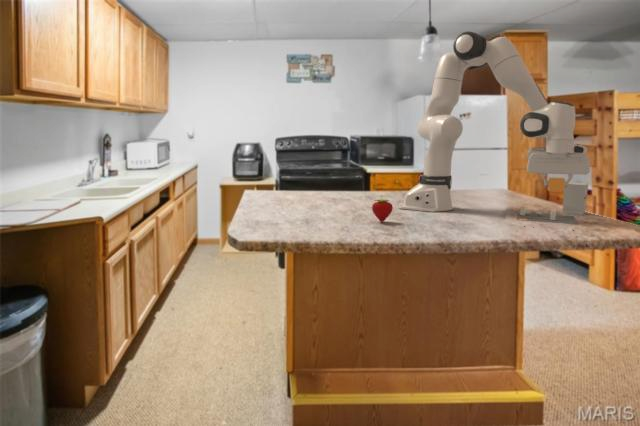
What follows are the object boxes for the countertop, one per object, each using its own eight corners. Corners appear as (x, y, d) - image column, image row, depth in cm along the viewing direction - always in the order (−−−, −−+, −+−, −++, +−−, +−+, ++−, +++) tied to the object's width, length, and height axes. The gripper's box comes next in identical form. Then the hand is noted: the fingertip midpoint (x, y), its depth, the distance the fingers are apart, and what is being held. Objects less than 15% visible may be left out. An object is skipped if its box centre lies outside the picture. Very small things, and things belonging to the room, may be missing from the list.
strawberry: (393, 223, 176) (393, 196, 174) (371, 223, 176) (372, 195, 174) (391, 220, 182) (392, 193, 180) (371, 220, 182) (371, 193, 180)
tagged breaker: (550, 219, 178) (551, 210, 177) (550, 219, 179) (550, 209, 179) (555, 220, 177) (556, 210, 177) (554, 219, 179) (555, 210, 178)
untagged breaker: (520, 215, 187) (521, 206, 186) (520, 214, 188) (520, 205, 188) (524, 215, 186) (525, 206, 186) (524, 214, 188) (525, 205, 187)
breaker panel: (516, 222, 178) (517, 217, 178) (516, 215, 193) (517, 210, 193) (578, 227, 171) (579, 221, 171) (573, 219, 186) (573, 213, 185)
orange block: (548, 191, 175) (549, 178, 174) (547, 189, 180) (548, 177, 179) (564, 191, 173) (565, 179, 173) (562, 190, 178) (563, 177, 177)
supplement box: (582, 217, 189) (585, 185, 186) (561, 215, 193) (564, 183, 191) (585, 214, 194) (588, 183, 192) (565, 212, 199) (568, 181, 197)
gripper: (527, 147, 175) (525, 186, 177) (592, 148, 167) (588, 188, 170) (527, 147, 180) (524, 184, 183) (589, 147, 173) (586, 186, 176)
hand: (556, 186), depth 176 cm, fingers closed on orange block, 5 cm apart
